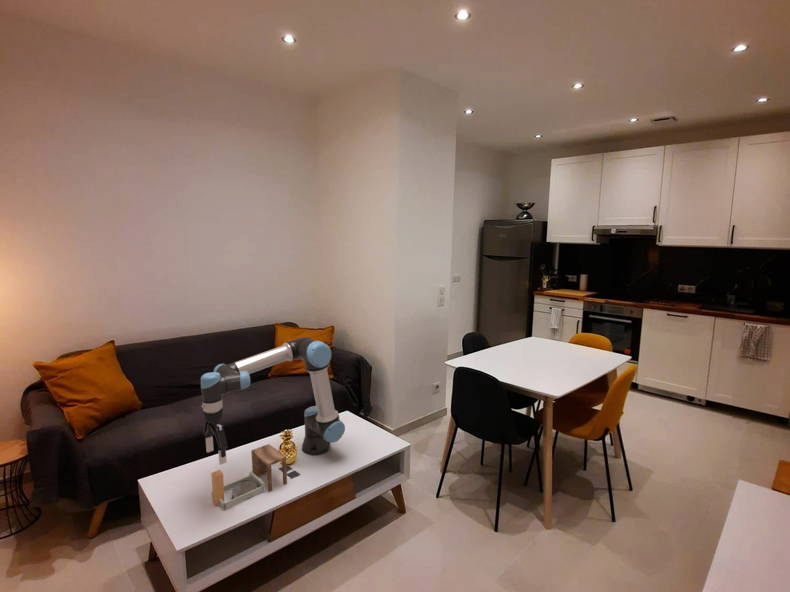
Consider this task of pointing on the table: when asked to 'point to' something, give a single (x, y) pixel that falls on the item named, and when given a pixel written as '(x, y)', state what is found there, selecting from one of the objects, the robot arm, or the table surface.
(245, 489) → the fossilized seashell
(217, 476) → the sled
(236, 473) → the table surface
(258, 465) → the tunnel
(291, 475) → the pits
